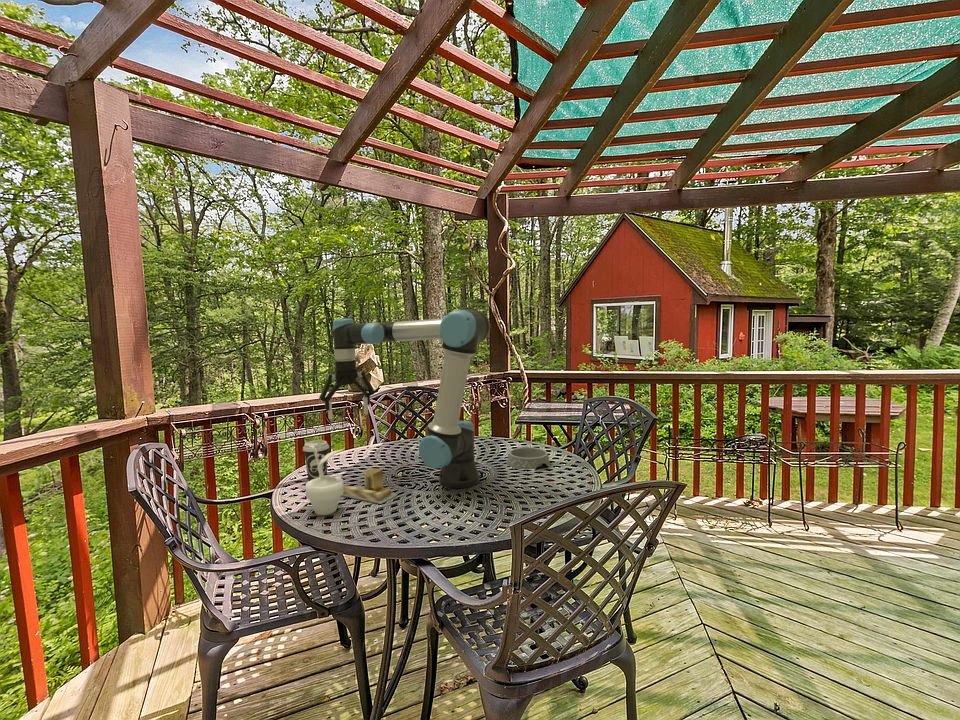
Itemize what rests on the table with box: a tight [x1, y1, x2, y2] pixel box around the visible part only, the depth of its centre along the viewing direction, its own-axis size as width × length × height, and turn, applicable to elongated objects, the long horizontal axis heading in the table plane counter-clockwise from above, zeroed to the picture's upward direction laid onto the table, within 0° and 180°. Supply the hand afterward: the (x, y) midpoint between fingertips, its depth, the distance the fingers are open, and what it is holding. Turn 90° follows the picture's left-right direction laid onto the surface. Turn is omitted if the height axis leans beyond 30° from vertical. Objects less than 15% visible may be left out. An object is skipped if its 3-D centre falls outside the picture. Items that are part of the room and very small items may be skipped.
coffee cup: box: [302, 439, 330, 482], centre depth 183 cm, size 10×10×15 cm
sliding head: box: [363, 468, 384, 491], centre depth 167 cm, size 4×6×8 cm
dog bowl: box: [506, 446, 551, 470], centre depth 200 cm, size 17×18×5 cm
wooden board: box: [342, 485, 397, 505], centre depth 167 cm, size 17×8×1 cm, turn 62°
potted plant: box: [305, 441, 345, 516], centre depth 154 cm, size 13×12×25 cm
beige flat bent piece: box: [343, 484, 392, 502], centre depth 167 cm, size 17×8×2 cm, turn 62°
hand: (348, 416), depth 181 cm, fingers open, 13 cm apart
